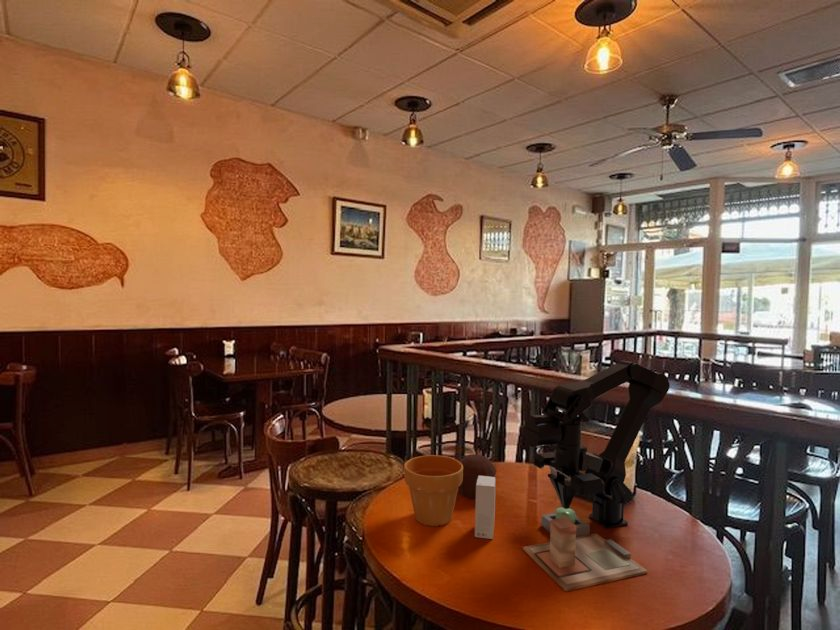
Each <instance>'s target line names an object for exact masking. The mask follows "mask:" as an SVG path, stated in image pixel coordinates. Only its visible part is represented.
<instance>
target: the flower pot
mask: <svg viewBox="0 0 840 630" xmlns="http://www.w3.org/2000/svg"><path fill="white" fill-rule="evenodd" d="M459 461H460V460H458V459H456V458H453V457H450V456H446V455H439V454H438V455H436V454H432V455H431V454H428V455H420V456H416V457H412V458H410V459H409V460H407V461H406V462H405V463H404V466H403V467H404V468H403V469H404V470H403V471H404V472H403V474H404V475H403V476H404V482H405V484H406V485H407V487H408V489H409V494H410V500H411V504H412V510H413V513H414V517H415V520H416V521H417V523H421V524H422V525H425V526H428V525H429V527H430V526H431V527H439V525H440V526H443V525H446V524H448V523H449V522H451V520H452V517H453V513H454V509H455V504H456V499H457V495H458V492H459V490H458V487H459V486H460V485H461V484H462V481H463V465H462V464H461V462H459Z"/></svg>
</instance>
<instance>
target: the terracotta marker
mask: <svg viewBox="0 0 840 630" xmlns="http://www.w3.org/2000/svg"><path fill="white" fill-rule="evenodd" d="M549 534H550V535H549V537H550V538H549V542H550V559H551V560H552V561H553V562H554V563H555V564H556V565H557V566H558V567H559V568H562V567H567V566H572V565H575V543H576V525H575V524H573V523H572V522H571V521H569V520H568V519H567V518H560V519H554V520H550V532H549Z"/></svg>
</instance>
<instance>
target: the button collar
mask: <svg viewBox="0 0 840 630" xmlns="http://www.w3.org/2000/svg"><path fill="white" fill-rule="evenodd" d="M555 516H556V512H553V513H546V514H541V526H542V527H543V528H544V529H545V530H546V531H547V532H549V533H550V520H554V519H555ZM575 525H576V537H580V536H585V535H591V534H590V532H591V529H590V527H591V526H590V525H589V523H587V522H585V520H583V519H581V518H580V517H579V516H577V515H576V517H575Z"/></svg>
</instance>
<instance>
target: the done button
mask: <svg viewBox="0 0 840 630" xmlns="http://www.w3.org/2000/svg"><path fill="white" fill-rule="evenodd" d="M555 513H556V516H555V519H560V518H567V519H568V520H569V521H571V522H572V523H573V524H575V517H576V516H577V515H576V514H577V513H576V511H575V510H574V509H572V508H570V507H569V508H568V509H564V508H563V506H561V507H557V508H556V509H555Z"/></svg>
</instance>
